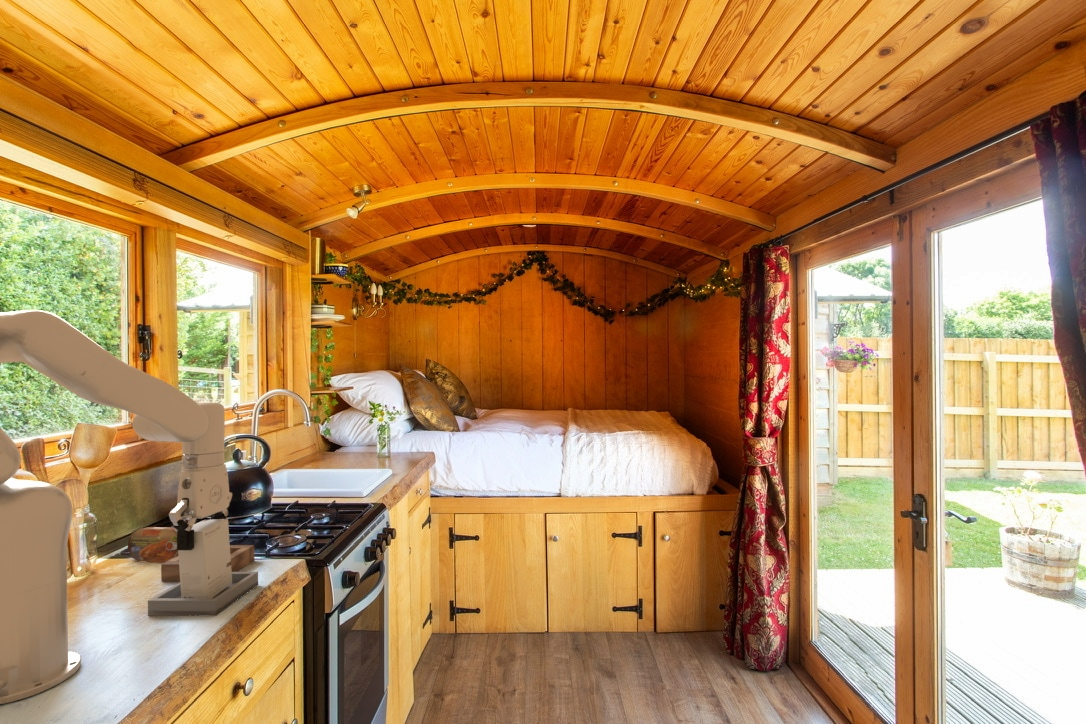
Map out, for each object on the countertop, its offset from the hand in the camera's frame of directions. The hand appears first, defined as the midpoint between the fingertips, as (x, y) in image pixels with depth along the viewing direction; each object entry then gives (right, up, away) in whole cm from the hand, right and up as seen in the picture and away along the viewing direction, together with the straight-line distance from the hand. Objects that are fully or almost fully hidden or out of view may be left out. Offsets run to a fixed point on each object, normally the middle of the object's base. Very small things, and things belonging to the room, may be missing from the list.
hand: (202, 542), depth 108 cm
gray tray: (0, -12, +1) cm, 12 cm away
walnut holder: (-9, -13, +16) cm, 22 cm away
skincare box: (0, -11, +1) cm, 11 cm away
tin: (-28, -13, +24) cm, 39 cm away
